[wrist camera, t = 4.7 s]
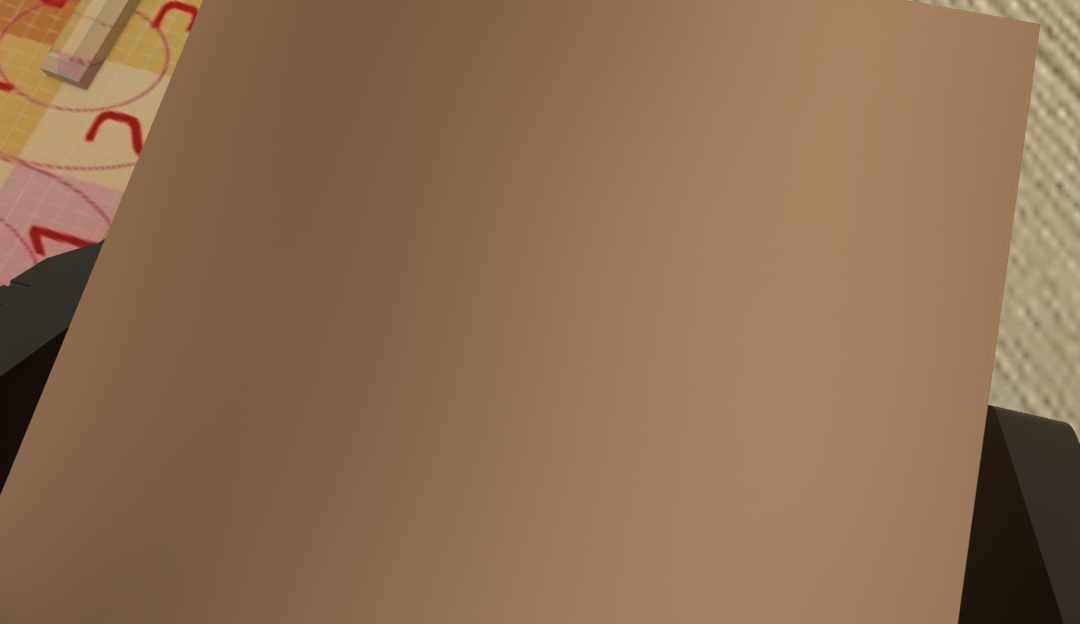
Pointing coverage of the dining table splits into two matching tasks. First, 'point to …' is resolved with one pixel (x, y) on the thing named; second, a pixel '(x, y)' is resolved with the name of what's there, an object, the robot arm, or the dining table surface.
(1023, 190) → the dining table surface
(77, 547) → the walnut block
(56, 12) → the puzzle game
